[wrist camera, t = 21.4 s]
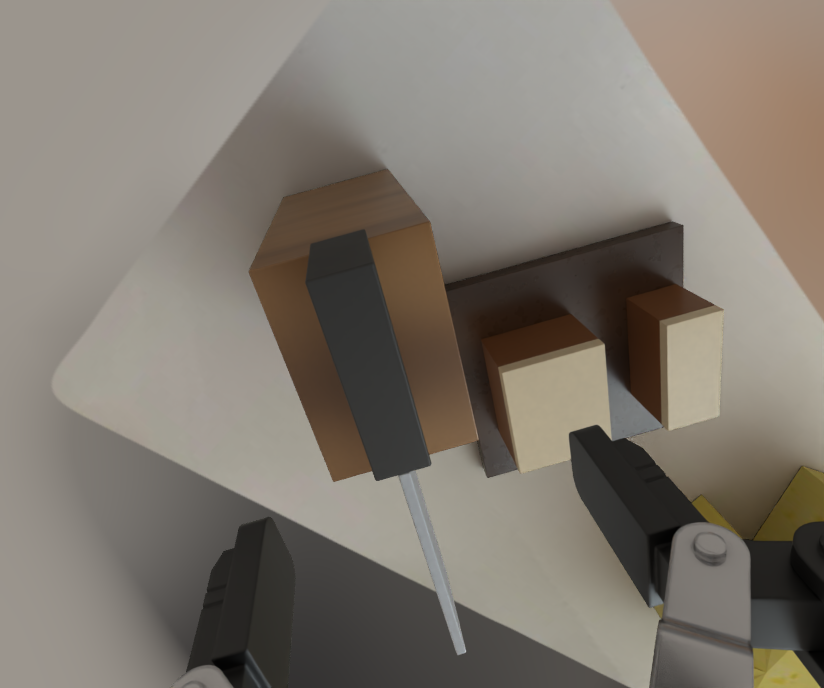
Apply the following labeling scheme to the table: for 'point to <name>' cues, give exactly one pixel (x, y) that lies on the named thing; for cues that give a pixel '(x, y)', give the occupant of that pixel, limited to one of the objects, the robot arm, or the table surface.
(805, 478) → the cheese
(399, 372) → the knife
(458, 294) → the board
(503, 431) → the cream-faced brown block
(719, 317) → the slice
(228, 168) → the table surface
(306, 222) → the stand
